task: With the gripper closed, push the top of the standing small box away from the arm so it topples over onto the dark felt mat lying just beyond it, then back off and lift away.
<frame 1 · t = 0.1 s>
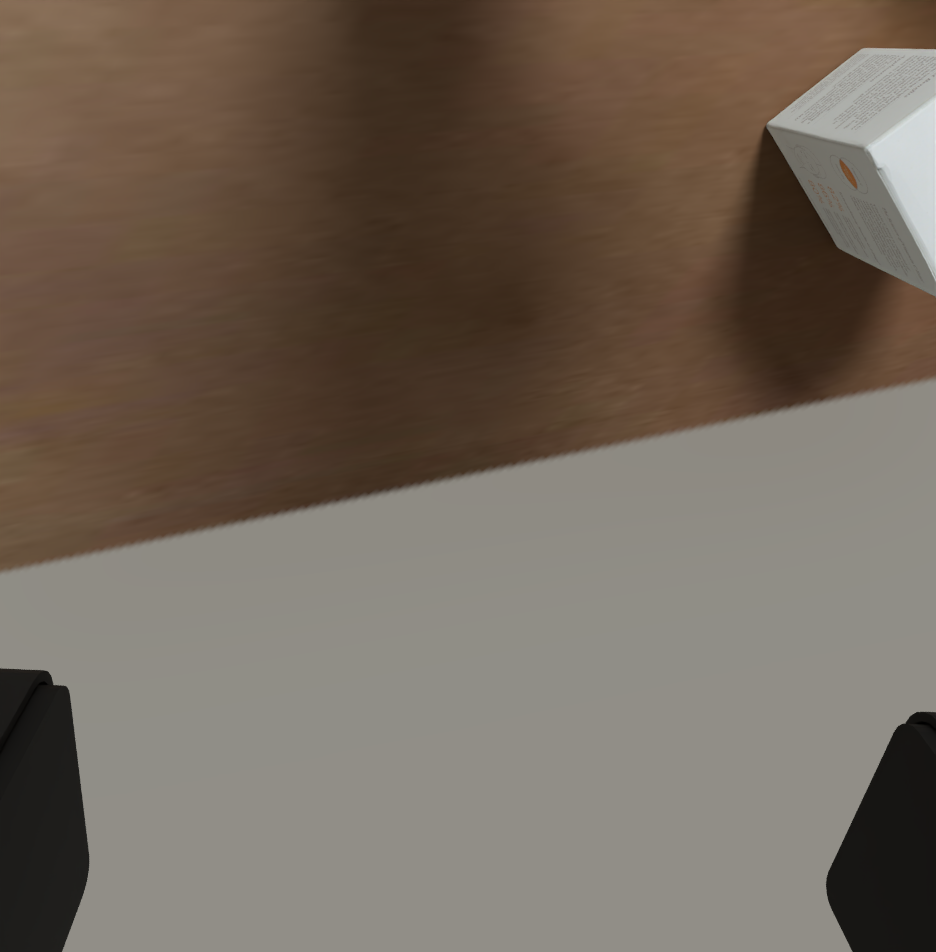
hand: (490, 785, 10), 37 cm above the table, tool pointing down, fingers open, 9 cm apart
small box: (846, 151, 42), on the table
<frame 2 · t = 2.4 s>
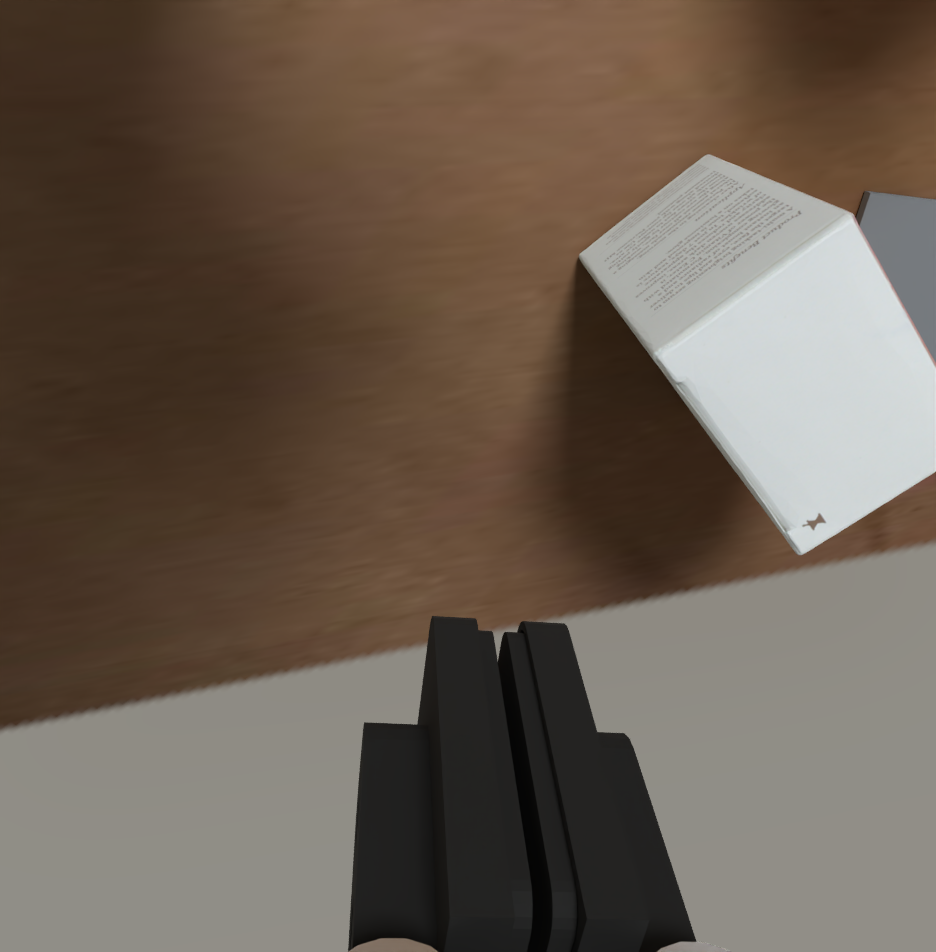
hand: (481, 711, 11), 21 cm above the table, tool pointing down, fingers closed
small box: (696, 287, 31), on the table
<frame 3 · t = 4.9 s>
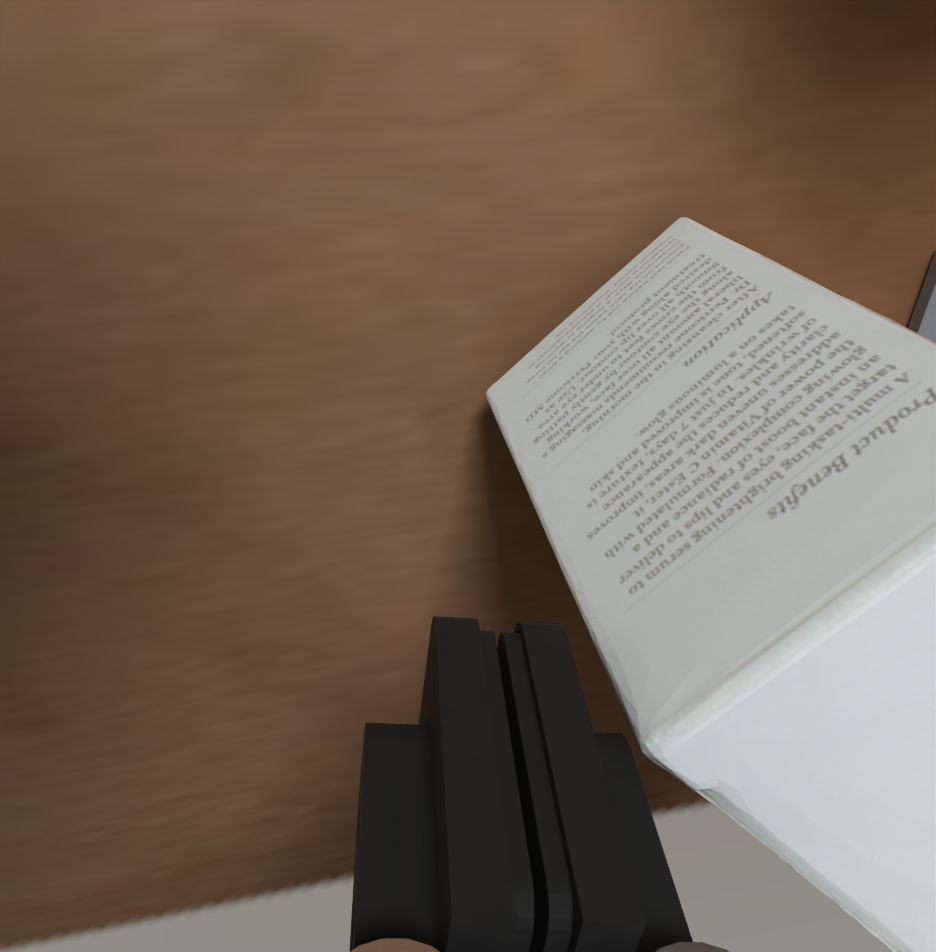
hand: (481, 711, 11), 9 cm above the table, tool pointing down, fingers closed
small box: (676, 418, 19), on the table, touching gripper
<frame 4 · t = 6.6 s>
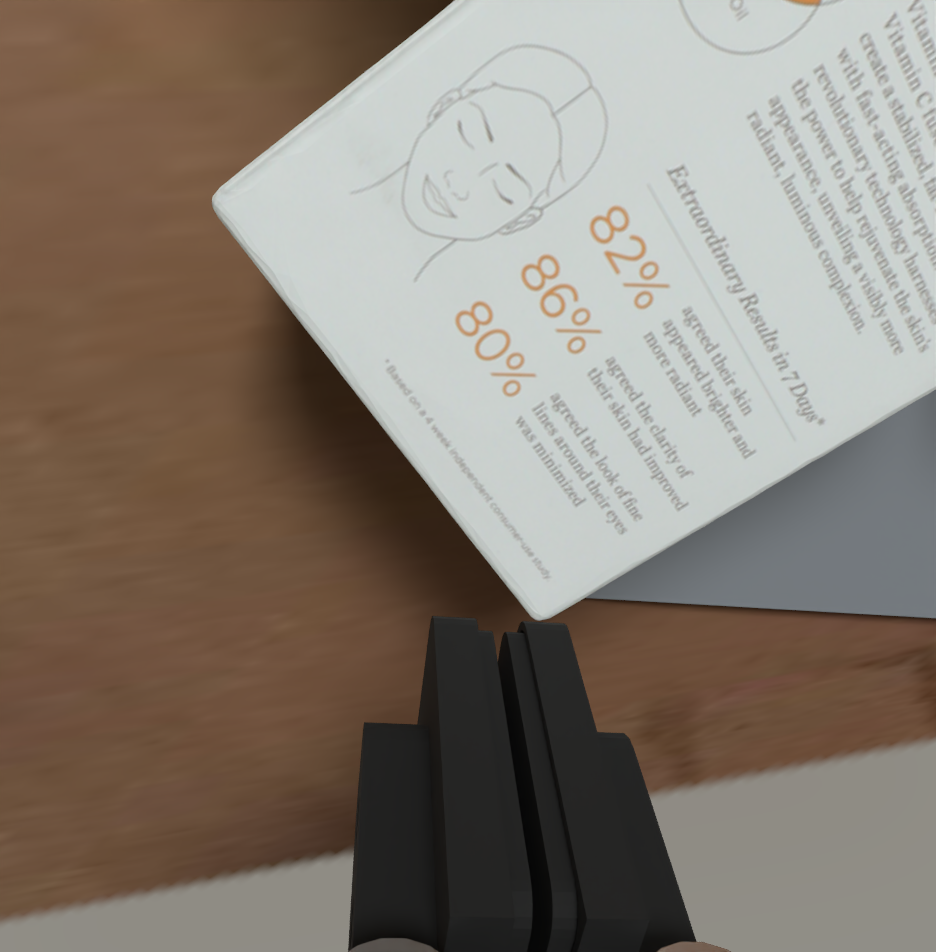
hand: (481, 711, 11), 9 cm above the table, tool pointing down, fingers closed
small box: (383, 389, 14), point 3 cm above the table, touching felt mat
felt mat: (801, 455, 19), on the table
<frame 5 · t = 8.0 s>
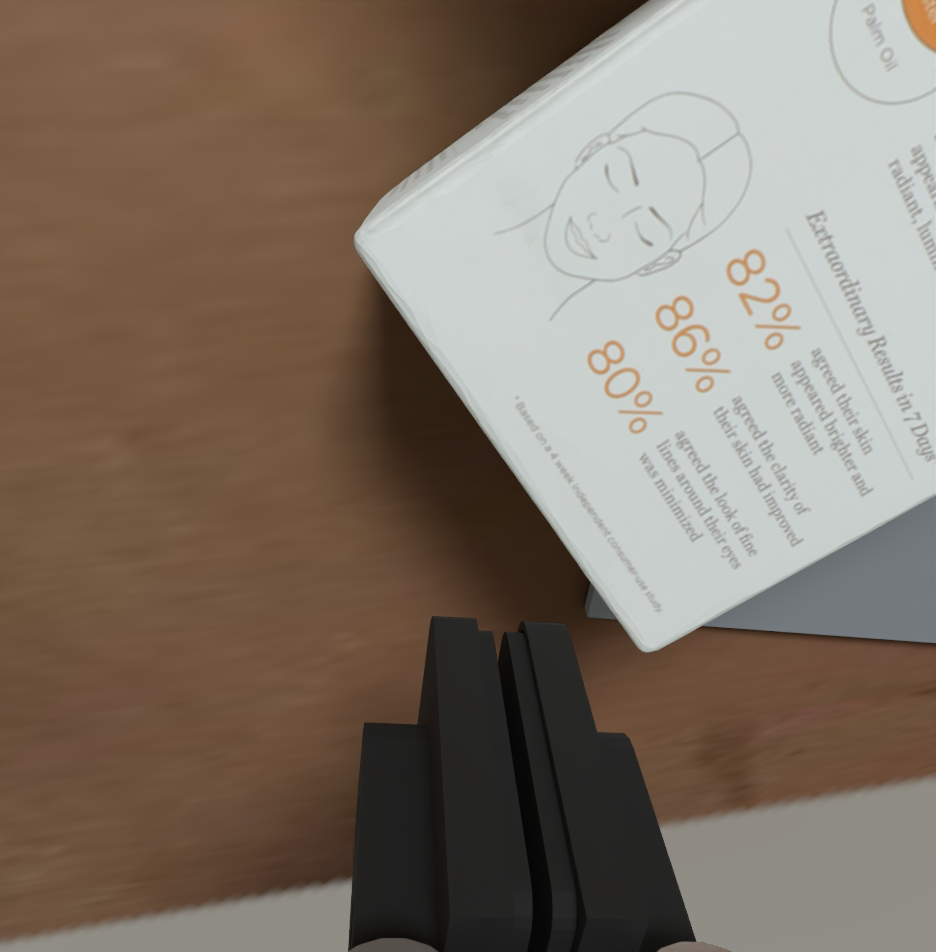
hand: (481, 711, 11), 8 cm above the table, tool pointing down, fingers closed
small box: (485, 419, 15), point 3 cm above the table, touching felt mat
felt mat: (872, 484, 19), on the table
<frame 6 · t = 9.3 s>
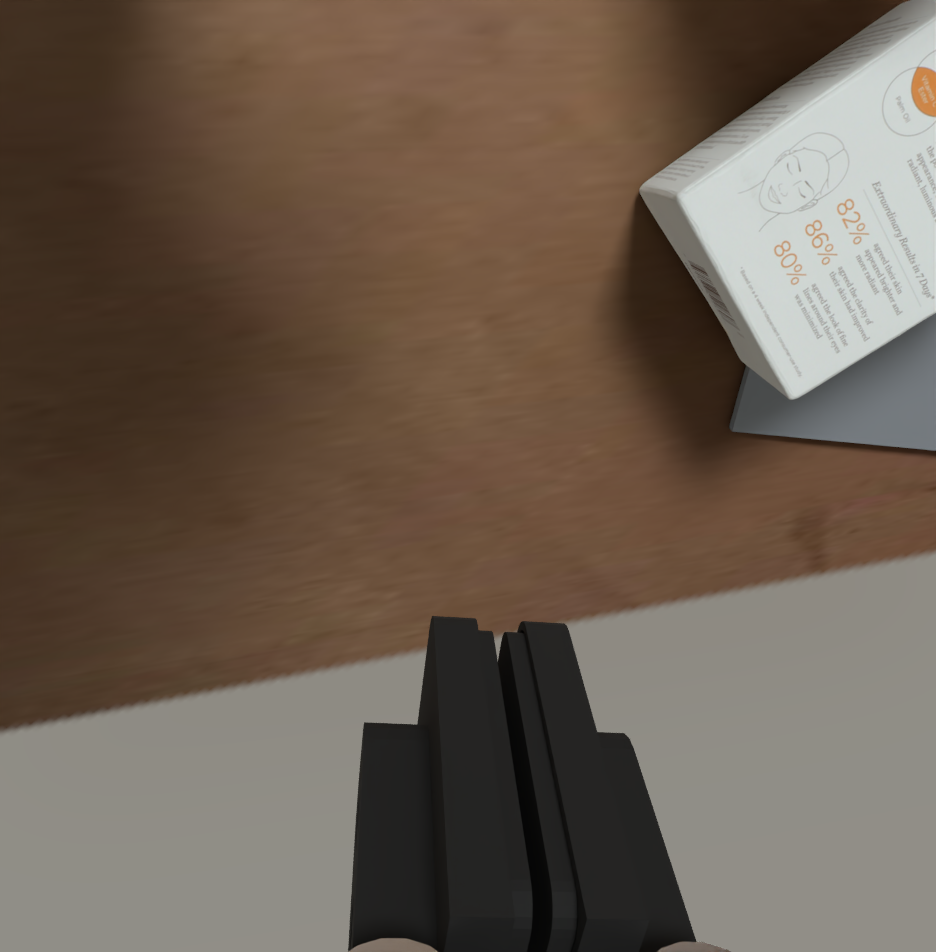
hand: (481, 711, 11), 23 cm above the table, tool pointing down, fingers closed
small box: (703, 293, 29), point 3 cm above the table, touching felt mat
felt mat: (899, 348, 34), on the table
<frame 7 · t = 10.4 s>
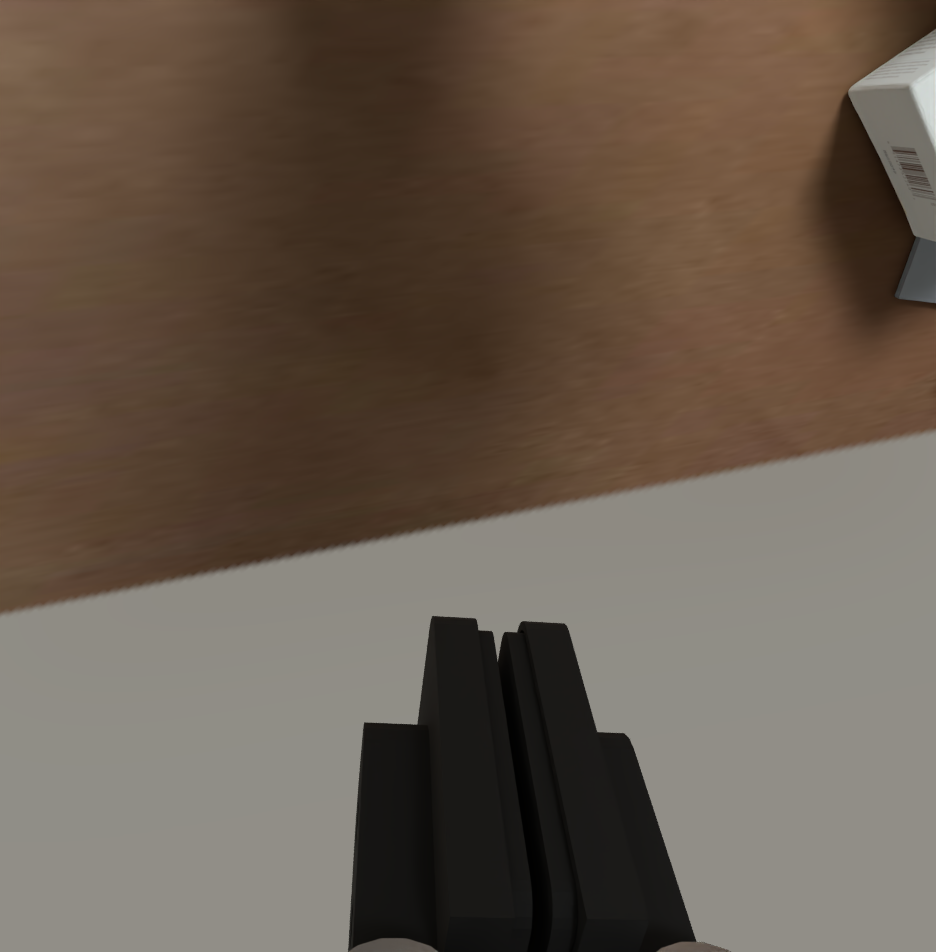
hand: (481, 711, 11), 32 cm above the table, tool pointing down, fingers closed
small box: (904, 172, 36), point 3 cm above the table, touching felt mat
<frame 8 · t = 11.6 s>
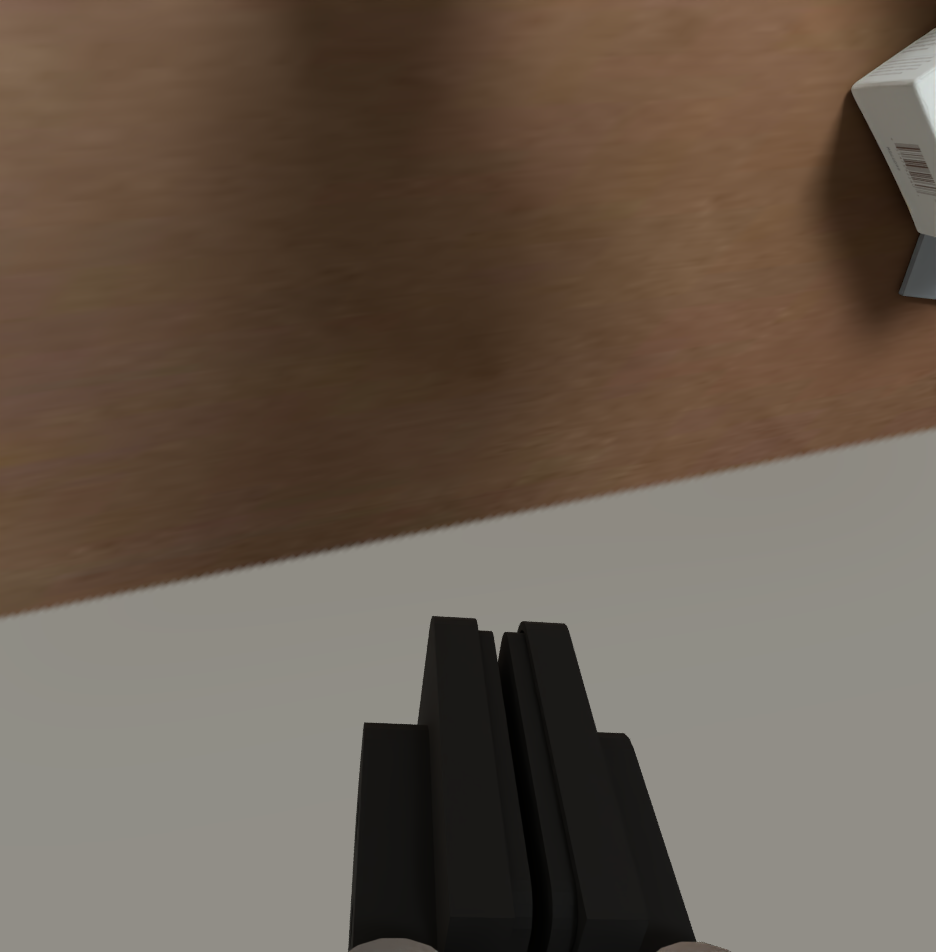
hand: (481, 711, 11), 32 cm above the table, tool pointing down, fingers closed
small box: (908, 169, 36), point 3 cm above the table, touching felt mat
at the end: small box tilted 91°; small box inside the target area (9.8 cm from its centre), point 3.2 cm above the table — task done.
